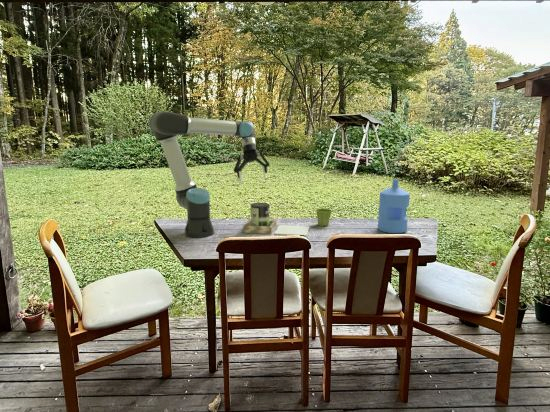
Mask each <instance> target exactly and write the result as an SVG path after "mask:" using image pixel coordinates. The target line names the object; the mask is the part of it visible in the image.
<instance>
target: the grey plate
mask: <svg viewBox="0 0 550 412" xmlns="http://www.w3.org/2000/svg"><path fill="white" fill-rule="evenodd" d="M309 230H310V226H303V225H289V224H288V225H286V224H279V225H278V226H277V229H276V230H275V232H274V235H277V236H293V235H304V236H303V237H307V236H308V234H307V233H309Z"/></svg>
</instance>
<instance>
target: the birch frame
mask: <svg viewBox="0 0 550 412" xmlns="http://www.w3.org/2000/svg"><path fill="white" fill-rule="evenodd" d="M276 227H277V220H276V219H275V220H273V219H269V227H263V226H251V218H250V219H248V220H247V221H246V222H245V224H244V225H243V226H242V232H243V233H246V234H249V233H250V234H265V235H271V234H273V232H274V230H275V229H276Z"/></svg>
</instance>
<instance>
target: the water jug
mask: <svg viewBox="0 0 550 412" xmlns="http://www.w3.org/2000/svg"><path fill="white" fill-rule="evenodd" d="M399 184H400V183H399V179H392V185H391V187H389V188H386V189H384V190H381V191H380V192H379V198H378V199H379V204H378V217H377V218H378V221H377V229H378V230H379V231H381V232H383V233H386V232H387V233H388V234H403V232H404V233H406V232H407V231H408V220H409V219H408V218H407V208H408V207H409V206H410V200H411V199H410V198H411V197H410V193H409V192H408V191H406V190H404V189H402V188H400V187H399Z"/></svg>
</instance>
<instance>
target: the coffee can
mask: <svg viewBox="0 0 550 412" xmlns="http://www.w3.org/2000/svg"><path fill="white" fill-rule="evenodd" d="M250 219H251V226H263V227H269V220H270V204H269V203H268V202H254V203H251V204H250Z"/></svg>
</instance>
